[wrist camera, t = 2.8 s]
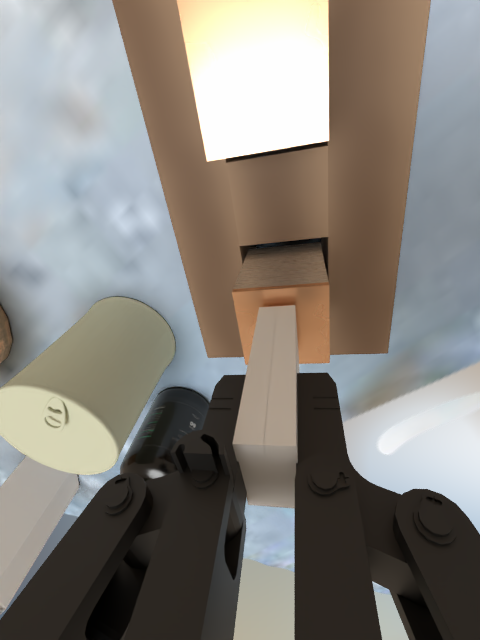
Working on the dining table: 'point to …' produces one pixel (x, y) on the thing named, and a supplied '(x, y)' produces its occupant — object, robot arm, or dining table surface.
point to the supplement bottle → (164, 432)
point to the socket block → (291, 168)
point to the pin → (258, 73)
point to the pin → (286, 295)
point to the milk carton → (29, 518)
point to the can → (88, 388)
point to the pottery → (4, 336)
